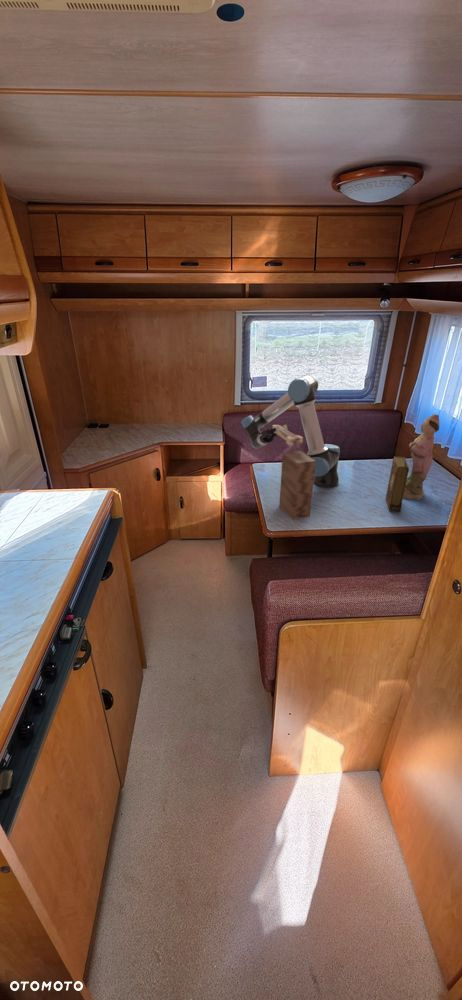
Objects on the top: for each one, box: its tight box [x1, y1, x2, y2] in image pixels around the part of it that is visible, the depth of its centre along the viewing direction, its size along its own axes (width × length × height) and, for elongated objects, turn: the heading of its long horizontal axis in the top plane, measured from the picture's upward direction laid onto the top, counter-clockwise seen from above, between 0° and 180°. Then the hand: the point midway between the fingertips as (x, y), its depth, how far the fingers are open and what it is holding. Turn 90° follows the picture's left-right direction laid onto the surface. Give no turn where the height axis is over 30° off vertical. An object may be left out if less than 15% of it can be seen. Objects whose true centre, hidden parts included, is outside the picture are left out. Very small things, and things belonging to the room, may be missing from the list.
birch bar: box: [271, 424, 304, 446], centre depth 220 cm, size 7×24×3 cm, turn 20°
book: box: [385, 455, 410, 513], centre depth 224 cm, size 16×6×25 cm, turn 168°
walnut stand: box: [278, 450, 316, 520], centre depth 216 cm, size 10×15×30 cm, turn 20°
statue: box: [403, 414, 441, 500], centre depth 233 cm, size 16×17×45 cm
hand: (282, 427), depth 221 cm, fingers closed on birch bar, 3 cm apart
